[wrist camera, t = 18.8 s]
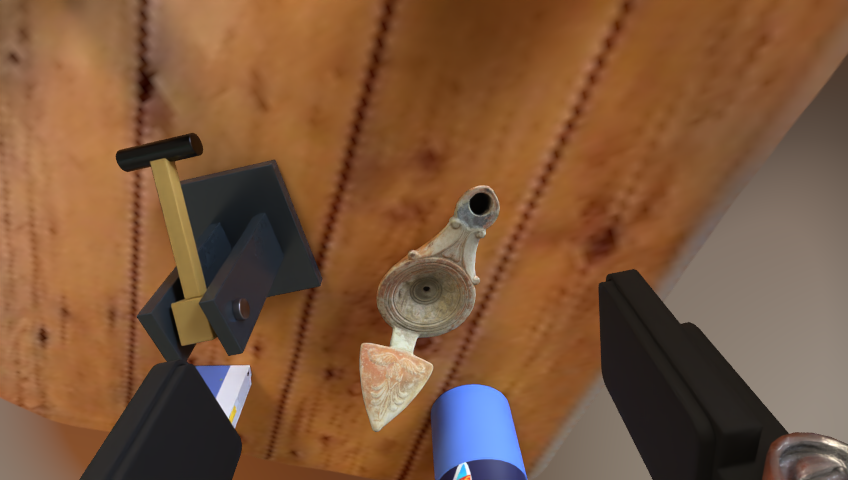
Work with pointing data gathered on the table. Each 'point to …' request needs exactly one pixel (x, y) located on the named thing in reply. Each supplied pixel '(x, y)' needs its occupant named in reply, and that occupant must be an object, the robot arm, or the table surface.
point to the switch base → (235, 256)
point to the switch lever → (176, 227)
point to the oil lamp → (424, 305)
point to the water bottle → (475, 436)
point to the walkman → (228, 387)
